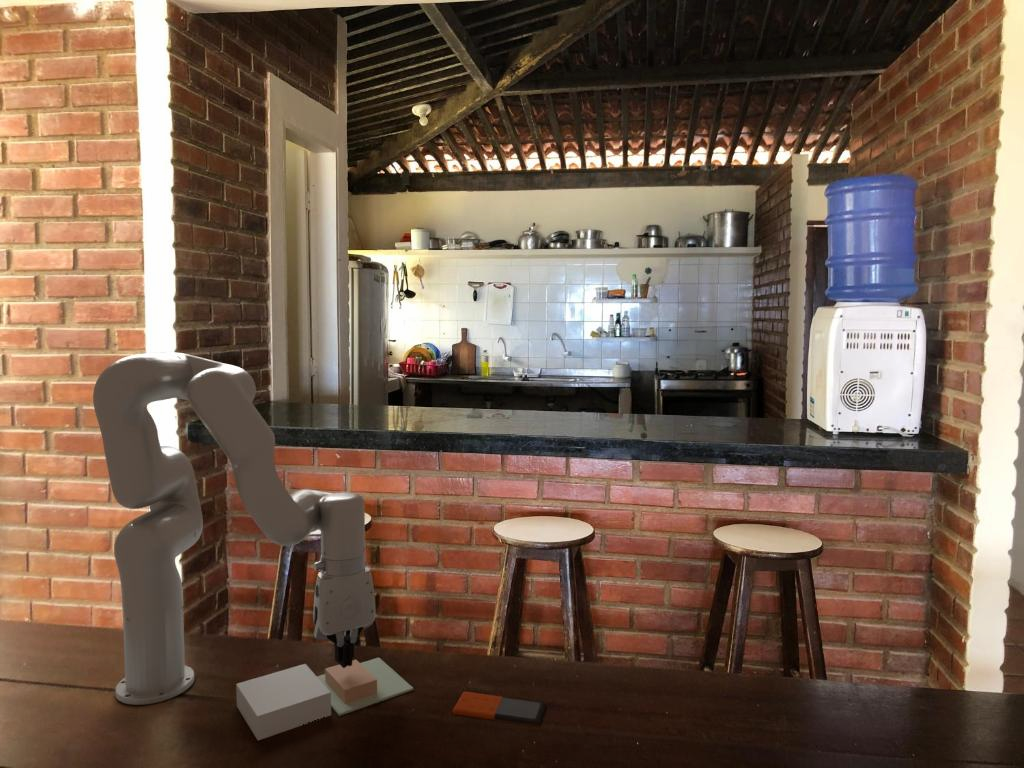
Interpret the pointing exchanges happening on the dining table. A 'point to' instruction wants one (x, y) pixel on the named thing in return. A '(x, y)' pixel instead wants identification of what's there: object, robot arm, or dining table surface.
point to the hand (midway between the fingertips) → (344, 663)
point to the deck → (282, 701)
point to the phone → (500, 708)
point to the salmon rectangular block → (351, 681)
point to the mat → (386, 687)
